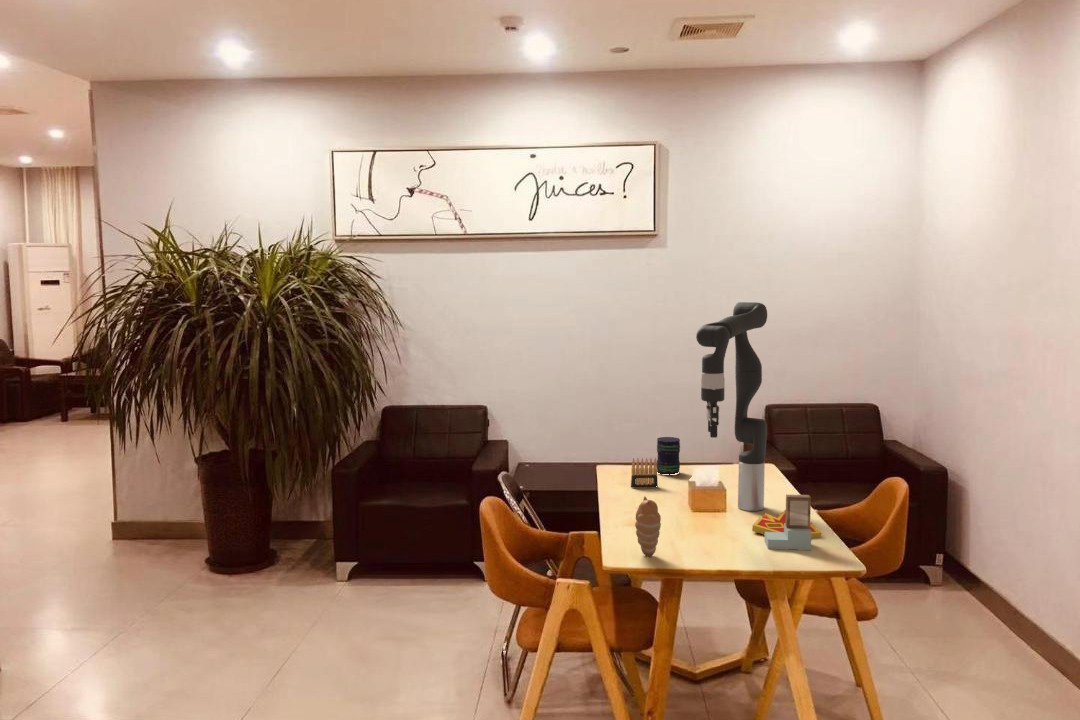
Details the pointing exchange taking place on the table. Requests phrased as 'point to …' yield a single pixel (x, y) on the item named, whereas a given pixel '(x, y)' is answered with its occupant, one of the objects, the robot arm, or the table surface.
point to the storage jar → (668, 455)
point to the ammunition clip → (644, 474)
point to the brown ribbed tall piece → (648, 526)
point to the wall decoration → (777, 525)
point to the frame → (798, 511)
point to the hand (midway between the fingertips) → (712, 434)
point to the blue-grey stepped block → (789, 539)
